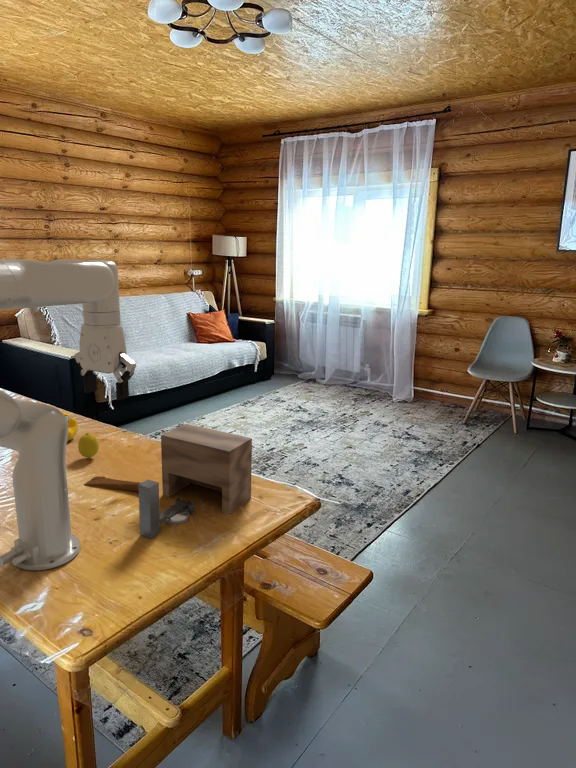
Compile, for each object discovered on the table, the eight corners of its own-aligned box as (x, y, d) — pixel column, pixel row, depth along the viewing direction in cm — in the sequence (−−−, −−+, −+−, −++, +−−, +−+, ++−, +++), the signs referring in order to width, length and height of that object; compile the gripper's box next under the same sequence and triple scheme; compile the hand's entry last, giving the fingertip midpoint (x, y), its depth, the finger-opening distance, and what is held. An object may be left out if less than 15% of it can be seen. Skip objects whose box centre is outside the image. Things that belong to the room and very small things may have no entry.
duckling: (59, 449, 161) (56, 417, 158) (44, 446, 162) (41, 415, 160) (83, 436, 172) (81, 407, 169) (69, 434, 173) (66, 405, 170)
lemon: (101, 460, 154) (100, 434, 152) (81, 463, 151) (80, 437, 149) (96, 453, 158) (94, 428, 156) (77, 457, 155) (75, 431, 153)
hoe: (154, 540, 114) (152, 489, 111) (136, 533, 116) (134, 483, 113) (194, 512, 126) (194, 465, 123) (178, 507, 128) (177, 461, 125)
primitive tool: (82, 486, 138) (82, 473, 137) (96, 478, 143) (95, 466, 142) (148, 498, 133) (148, 485, 132) (159, 489, 138) (159, 477, 137)
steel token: (182, 526, 120) (183, 520, 120) (158, 522, 121) (158, 515, 121) (192, 514, 126) (192, 508, 125) (168, 510, 127) (169, 504, 126)
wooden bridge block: (229, 514, 126) (229, 451, 121) (162, 494, 134) (160, 435, 130) (251, 497, 134) (251, 438, 130) (187, 480, 143) (186, 423, 139)
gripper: (59, 317, 115) (65, 393, 119) (119, 324, 107) (123, 405, 112) (86, 313, 121) (91, 385, 126) (145, 320, 114) (147, 397, 118)
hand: (106, 395), depth 119 cm, fingers open, 9 cm apart
